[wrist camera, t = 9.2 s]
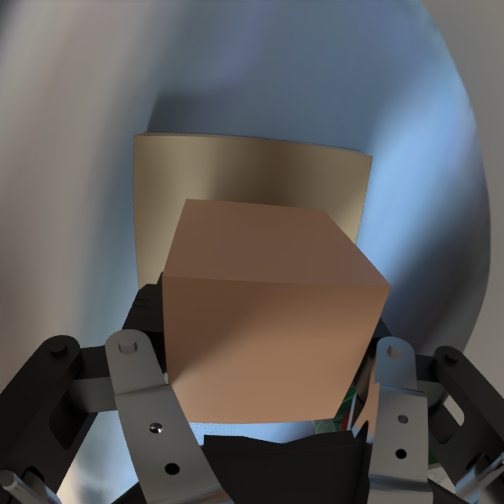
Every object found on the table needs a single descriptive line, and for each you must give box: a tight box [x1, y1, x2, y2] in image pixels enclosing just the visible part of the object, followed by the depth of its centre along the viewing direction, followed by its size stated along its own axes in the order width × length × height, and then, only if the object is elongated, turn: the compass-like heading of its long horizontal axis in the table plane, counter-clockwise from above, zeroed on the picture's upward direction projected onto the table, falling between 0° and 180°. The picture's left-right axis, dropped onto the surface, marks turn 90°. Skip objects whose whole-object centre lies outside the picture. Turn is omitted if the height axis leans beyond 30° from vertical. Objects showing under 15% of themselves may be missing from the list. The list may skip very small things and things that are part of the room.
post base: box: [134, 133, 373, 290], centre depth 14 cm, size 11×11×7 cm
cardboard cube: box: [162, 199, 391, 424], centre depth 11 cm, size 6×6×6 cm
